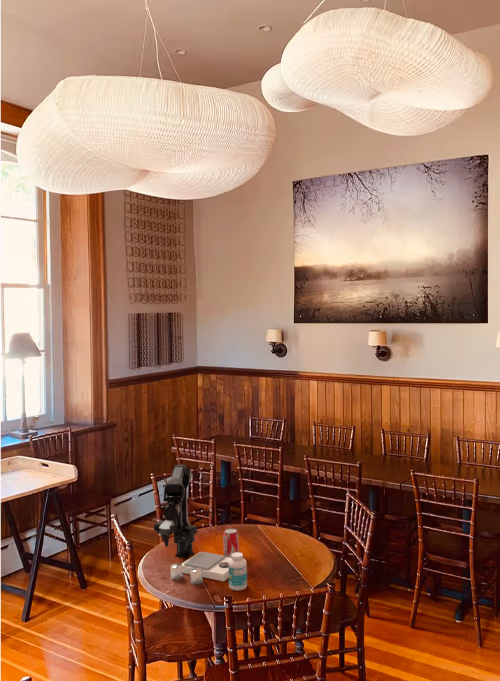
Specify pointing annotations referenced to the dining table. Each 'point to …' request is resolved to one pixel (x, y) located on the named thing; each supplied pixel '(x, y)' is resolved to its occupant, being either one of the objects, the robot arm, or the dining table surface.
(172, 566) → the cylinder
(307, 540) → the dining table surface
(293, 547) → the dining table surface
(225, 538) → the soda can
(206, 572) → the scale
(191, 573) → the cylinder
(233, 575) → the pill bottle
